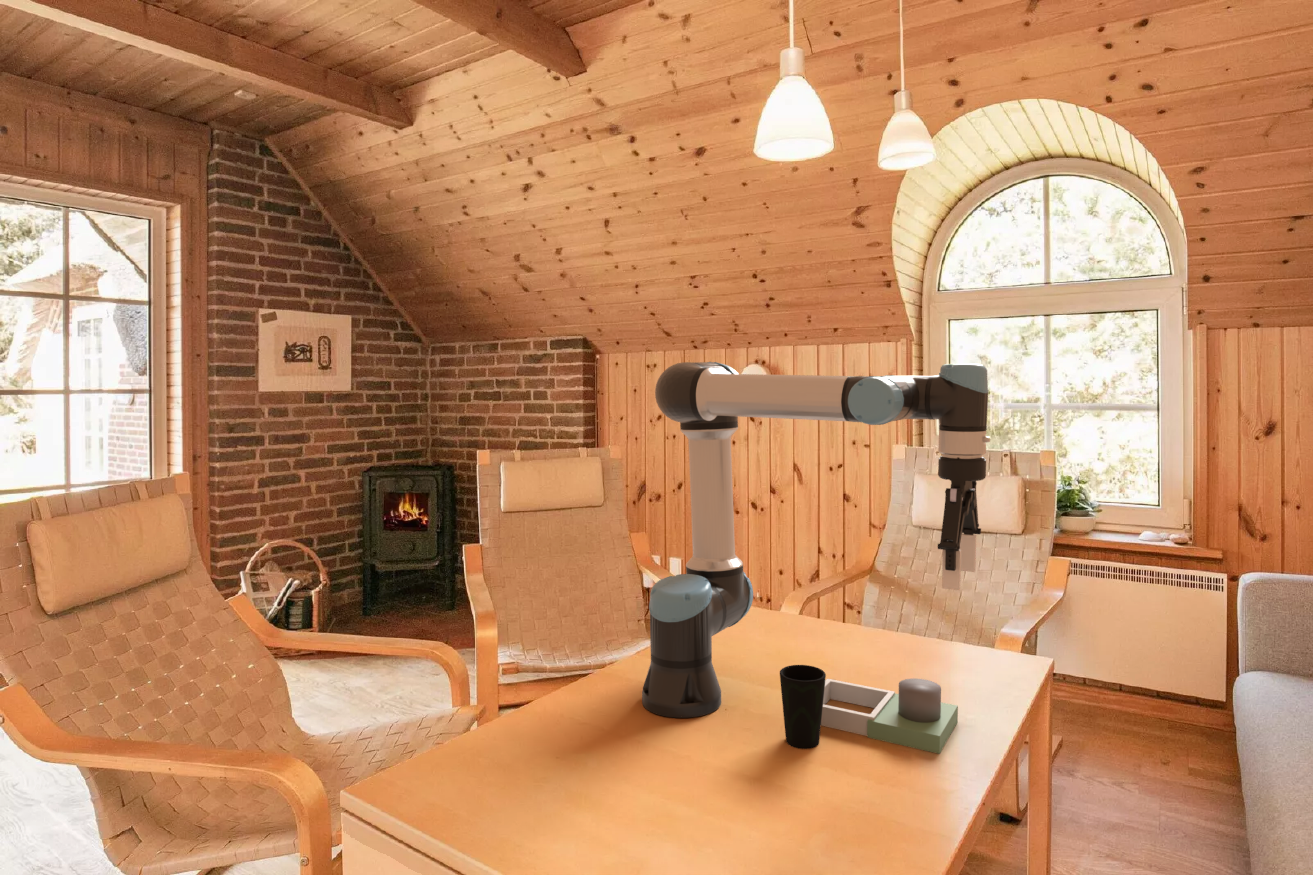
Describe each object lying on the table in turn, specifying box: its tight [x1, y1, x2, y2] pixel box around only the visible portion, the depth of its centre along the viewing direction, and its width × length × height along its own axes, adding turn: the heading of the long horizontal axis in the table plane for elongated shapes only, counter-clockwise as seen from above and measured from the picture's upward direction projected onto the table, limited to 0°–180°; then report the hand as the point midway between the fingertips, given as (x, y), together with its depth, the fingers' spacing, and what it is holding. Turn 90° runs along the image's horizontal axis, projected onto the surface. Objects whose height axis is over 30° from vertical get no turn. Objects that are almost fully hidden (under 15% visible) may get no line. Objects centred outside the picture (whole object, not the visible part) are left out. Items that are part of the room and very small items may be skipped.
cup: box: [779, 664, 827, 750], centre depth 137 cm, size 8×8×12 cm
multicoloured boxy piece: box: [821, 678, 959, 755], centre depth 144 cm, size 24×14×8 cm, turn 58°
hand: (959, 579), depth 138 cm, fingers open, 13 cm apart
